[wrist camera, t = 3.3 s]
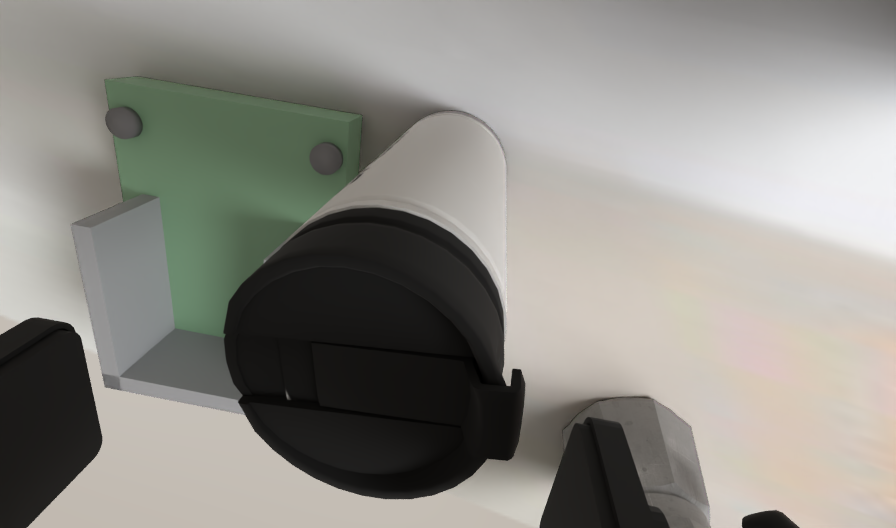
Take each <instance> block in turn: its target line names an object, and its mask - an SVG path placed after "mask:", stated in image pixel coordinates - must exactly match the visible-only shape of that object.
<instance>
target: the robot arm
mask: <svg viewBox="0 0 896 528" xmlns="http://www.w3.org/2000/svg"><path fill="white" fill-rule="evenodd" d="M101 445H102V434H101V429H100V424H99V420H98V415H97V411H96V406H95V401H94V396H93V392H92V387H91V382H90V378H89V373H88V369H87V364H86V359H85V354H84V350H83V345H82V340H81V337H80V335H78V334H77V333H76V332H75V329H74V327H73V326H72V325H71V324H68V323H65V322H60V321H54V320H49V319H43V318H30V319H28V320H25V321H23V322H22V323H20V324H18V325H16V326H15V327H13V328H11V329H10V330H8V331H6V332H5V333H3V334H1V335H0V528H27V527H28V526H29V525H30V524H31V523H32V522H33V521H34V520H35V518H37V517H38V515H40V513H41V512H42V511H43V510H44V509H45V508H46V507H47V506H48V505H49V504H50V503H51V502H52V501H53V500H54V499H55V498H56V497H57V496H58V495H59V494H60V493H61V492H62V491H63V490H64V489H65V488H66V487H67V486H68V485H69V484H70V483H71V481H73V480H74V479H75V478H76V476H77V475H78V474H79V473H80V472H81V471H82V470H83V469H84V468H85V467H86V466H87V465H88V464H89V463H90V462H91V461H92V460H93V459H94V458H95V456H96V455H97V454H98V452H99V450H100V448H101ZM540 528H670V527H669V524H668V522H667V519H666V517H665V515H664V513H663V512H662V511H661V510H660V509H659V508H658V507H655V506H650V505H648V502H647V499H646V496H645V493H644V490H643V487H642V484H641V481H640V478H639V475H638V472H637V469H636V466H635V463H634V460H633V457H632V454H631V451H630V448H629V445H628V442H627V439H626V436H625V433H624V430H623V427H622V425H621V424H620V423H619V422H615V421H610V420H604V419H599V418H593V417H587V418H586V419H585V421H584V423H583V424H580V423H575V424H574V426H573V428H572V431H571V434H570V437H569V440H568V443H567V445H566V448H565V451H564V454H563V457H562V460H561V463H560V466H559V469H558V472H557V474H556V477H555V480H554V483H553V486H552V489H551V492H550V495H549V498H548V501H547V503H546V506H545V509H544V512H543V515H542V518H541V522H540Z"/></svg>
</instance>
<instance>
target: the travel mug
mask: <svg viewBox="0 0 896 528" xmlns="http://www.w3.org/2000/svg"><path fill="white" fill-rule="evenodd" d="M506 314H507V261H506V157H505V153H504V149H503V147H502V144H501V142H500V140H499V138H498V137H497V135H496V134H495V133H494V131H493V130H492V129H491V128H490V127H489V126H488V125H487V124H486V123H485V122H483V121H482V120H480V119H478V118H477V117H475V116H473V115H470V114H467V113H464V112H458V111H441V112H437V113H433V114H430V115H428V116H426V117H424V118H422V119H420V120H419V121H418V122H417V123H415V124H414V125H413V126H412V127H411V128H410V129H408V130H407V131H406V132H405V133H404V134H403V135H402V136H401V137H400V138H398V139H397V140H396V141H395V142H394V143H393V144H392V145H391V146H390V147H388V148H387V149H386V150H385V151H384V152H383V153H382V154H381V155H380V156H378V157H377V158H376V159H375V160H374V161H373V162H372V163H371V164H370V165H368V166H367V167H366V168H365V169H364V170H363V171H362V172H361V173H360V174H358V175H357V176H356V177H355V178H354V179H353V180H352V181H351V182H350V183H348V184H347V185H346V186H345V187H344V188H343V189H342V190H341V191H340V192H338V193H337V194H336V195H335V196H334V197H333V198H332V199H331V200H330V201H328V202H327V203H326V204H325V205H324V206H323V207H322V208H321V209H320V210H318V211H317V212H316V213H315V214H314V215H313V216H312V217H311V218H310V219H308V220H307V221H306V222H305V223H304V224H303V225H302V226H301V227H300V228H299V229H297V230H296V231H295V232H294V233H293V234H292V235H291V236H290V237H289V238H288V239H287V241H286V242H285V243H284V245H283V246H282V247H281V248H280V250H278V251H277V252H276V253H275V254H274V255H272V256H271V257H270V258H269V259H268V260H267V261H266V262H265V263H264V264H262V265H261V266H260V267H259V268H258V269H257V270H256V271H255V272H254V273H253V274H252V275H251V276H249V277H248V278H247V279H246V280H245V281H244V282H243V283H242V284H241V285H240V287H239V288H238V289H237V291H236V292H235V293H234V295H233V296H232V298H231V299H230V300H229V302H228V308H227V314H226V319H225V325H224V330H223V333H224V334H226V335H225V337H224V347H225V356H226V363H227V366H228V369H229V372H230V375H231V378H232V381H233V384H234V385H235V386H236V388H237V389H238V390H239V392H240V393H241V394H242V395H243V396H242V397H241V398H240V399H239V401H238V403H239V405H240V407H241V408H242V410H243V412H244V414H245V415H246V417H247V419H248V420H249V422H250V424H251V425H252V427H253V429H254V431H255V432H256V433H257V434H258V435H259V436H260V437H261V438H262V439H263V440H264V441H265V442H266V443H267V444H268V445H269V446H270V447H271V448H272V449H273V450H274V451H275V452H277V453H278V454H279V455H281V456H282V457H283V458H284V459H286V460H287V461H288V462H290V463H291V464H292V465H294V466H295V467H297V468H299V469H300V470H302V471H304V472H305V473H307V474H308V475H310V476H312V477H314V478H316V479H318V480H320V481H322V482H324V483H327V484H329V485H331V486H334V487H336V488H338V489H342V490H345V491H348V492H352V493H355V494H359V495H362V496H369V497H375V498H383V499H414V498H419V497H425V496H432V495H435V494H438V493H440V492H443V491H446V490H448V489H451V488H454V487H455V486H457V485H458V484H460V483H461V482H463V481H465V480H466V479H468V478H469V477H471V476H472V475H473V474H474V473H475V472H476V471H477V470H478V469H479V468H480V467H481V466H482V464H483V463H484V462H485V461H486V459H496V460H505V461H508V460H510V459H512V457H513V456H514V453H515V450H516V447H517V445H518V442H519V435H520V429H521V422H522V415H523V408H524V397H525V381H524V378H523V375H522V372H521V370H520V369H512V378H511V386H506V383H505V381H504V378H503V376H502V372H503V367H504V341H505V336H506V331H507V322H506Z"/></svg>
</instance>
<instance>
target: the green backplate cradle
mask: <svg viewBox="0 0 896 528" xmlns="http://www.w3.org/2000/svg"><path fill="white" fill-rule="evenodd" d="M105 87H106V93H107V100H108V106H109V111H108V112H107V114H106V117H105V120H106V125H107V127H108V129H109V130H110V132H111V133H112V134H113V138H114V145H115V151H116V158H117V164H118V171H119V177H120V183H121V190H122V196H123V203H120V204H118V205H115V206H113V207H111V208H108V209H106V210H103V211H101V212H99V213H96V214H94V215H92V216H89V217H87V218H84V219H82V220H80V221H77V222H75V223H72V224H71V228H72V233H73V238H74V242H75V247H76V252H77V257H78V261H79V266H80V271H81V276H82V280H83V285H84V290H85V295H86V300H87V304H88V309H89V314H90V319H91V323H92V328H93V333H94V338H95V342H96V347H97V352H98V357H99V362H100V366H101V371H102V376H103V381H104V385H105V387H106V388H111V389H117V390H121V391H127V392H131V393H136V394H141V395H146V396H151V397H157V398H162V399H167V400H172V401H177V402H182V403H187V404H192V405H197V406H202V407H208V408H213V409H217V410H222V411H227V412H233V413H237V414H243V415H245V414H244V412H243V410H242V408H241V407H240V405H239V403H238V401H239V399H240V398H241V397H242V396H243V395H242V394H241V393H240V392H239V390H238V389H237V388H236V386H235V385H234V384H233V381H232V378H231V375H230V372H229V369H228V366H227V363H226V356H225V347H224V337H225V335H226V334H224V333H223V330H224V325H225V319H226V314H227V308H228V302H229V300H230V299H231V298H232V296H233V295H234V293H235V292H236V291H237V289H238V288H239V287H240V285H241V284H242V283H243V282H244V281H245V280H246V279H247V278H248V277H249V276H251V275H252V274H253V273H254V272H255V271H256V270H257V269H258V268H259V267H260V266H261V265H262V264H264V263H265V262H266V261H267V260H268V259H269V258H270V257H271V256H272V255H274V254H275V253H276V252H277V251H278V250H280V248H281V247H282V246H283V245H284V243H285V242H286V241H287V239H288V238H289V237H290V236H291V235H292V234H293V233H294V232H295V231H296V230H297V229H299V228H300V227H301V226H302V225H303V224H304V223H305V222H306V221H307V220H308V219H310V218H311V217H312V216H313V215H314V214H315V213H316V212H317V211H318V210H320V209H321V208H322V207H323V206H324V205H325V204H326V203H327V202H328V201H330V200H331V199H332V198H333V197H334V196H335V195H336V194H337V193H338V192H340V191H341V190H342V189H343V188H344V187H345V186H346V185H347V184H348V183H350V182H351V181H352V180H353V179H354V178H355V177H356V176H357V175H358V173H359V158H360V143H361V129H362V115H359V114H353V113H347V112H341V111H335V110H330V109H324V108H318V107H312V106H306V105H301V104H295V103H289V102H283V101H277V100H272V99H266V98H260V97H254V96H249V95H243V94H237V93H231V92H225V91H220V90H214V89H208V88H202V87H196V86H191V85H185V84H179V83H173V82H167V81H162V80H156V79H150V78H144V77H138V76H137V77H126V78H116V79H105Z"/></svg>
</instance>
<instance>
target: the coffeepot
mask: <svg viewBox="0 0 896 528" xmlns="http://www.w3.org/2000/svg"><path fill="white" fill-rule="evenodd" d="M587 417H593V418H599V419H604V420H610V421H615V422H619V423H620V424H621V425H622V427H623V430H624V433H625V436H626V439H627V442H628V445H629V448H630V451H631V454H632V457H633V460H634V463H635V466H636V469H637V472H638V475H639V478H640V481H641V484H642V487H643V490H644V493H645V496H646V499H647V502H648V505H650V506H655V507H658V508H659V509H660V510H661V511H662V512H663V513H664V515H665V517H666V519H667V522H668V524H669V527H670V528H711V526H710V506H709V502H708V498H707V493H706V489H705V485H704V480H703V476H702V472H701V467H700V463H699V459H698V455H697V450H696V446H695V442H694V437H693V433H692V429H691V426H690V425H688V424H687V423H686V422H685V421H683V420H682V419H681V418H679V417H678V416H677V415H676V414H675V413H674V412H673V411H672V410H670V409H669V408H667V407H665V406H664V405H662V404H660V403H658V402H657V401H655V400H654V399H648V398H637V397H621V398H612V399H608V400H605V401H598V402H596V403H594V404H593V405H591V406H589V407H588V408H586V409H585V410H583V411H582V412H580V413H579V414H578V415H577V416H576V417H575V418H574V419H573V420H572V421H571V423H570V425H569V426H567V427H566V428H565V429H564V430H563V447H564V451H565V448H566V445H567V443H568V440H569V437H570V434H571V431H572V428H573V426H574V424H575V423H580V424H583V423H584V421H585V419H586V418H587ZM742 527H743V528H799V527H798V526H797V525H796V524H795V523H794V522H792V521H791V520H790V519H789V518H788V517H787V516H786V515H784V514H783V513H782V512H779V511H777V510H774V511H764V512H759V513H755V514H751V515H748V516H745V517H744V518H743V519H742Z"/></svg>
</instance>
